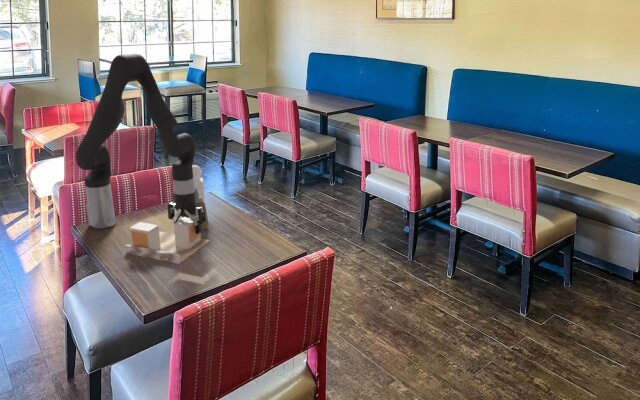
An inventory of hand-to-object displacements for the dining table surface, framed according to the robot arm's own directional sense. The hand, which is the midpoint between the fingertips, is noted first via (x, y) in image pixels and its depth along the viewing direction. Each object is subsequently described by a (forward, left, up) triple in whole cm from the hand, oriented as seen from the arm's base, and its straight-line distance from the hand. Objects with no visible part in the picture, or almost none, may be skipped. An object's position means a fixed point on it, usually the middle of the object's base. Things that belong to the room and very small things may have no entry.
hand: (188, 231), depth 199 cm
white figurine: (-13, +27, -6) cm, 31 cm away
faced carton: (-11, -10, -5) cm, 16 cm away
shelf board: (-5, -5, -6) cm, 9 cm away
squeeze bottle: (-4, +13, -6) cm, 15 cm away
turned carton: (0, 0, -5) cm, 5 cm away
